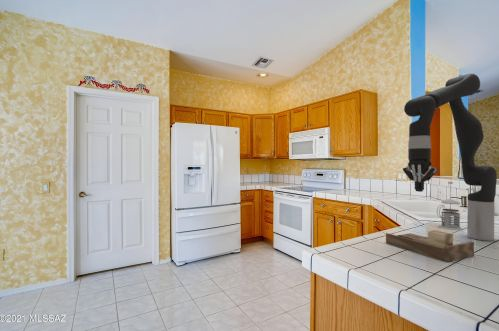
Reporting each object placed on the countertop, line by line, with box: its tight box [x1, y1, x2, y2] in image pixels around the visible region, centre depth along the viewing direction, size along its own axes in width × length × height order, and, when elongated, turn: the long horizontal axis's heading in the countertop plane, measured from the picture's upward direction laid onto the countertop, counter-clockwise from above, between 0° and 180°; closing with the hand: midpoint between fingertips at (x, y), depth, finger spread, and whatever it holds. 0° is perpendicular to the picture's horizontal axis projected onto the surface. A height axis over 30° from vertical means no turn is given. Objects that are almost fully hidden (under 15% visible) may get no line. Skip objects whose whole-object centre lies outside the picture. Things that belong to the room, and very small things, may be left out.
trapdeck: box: [385, 232, 475, 263], centre depth 103 cm, size 16×24×5 cm, turn 24°
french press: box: [436, 181, 463, 231], centre depth 138 cm, size 10×12×25 cm
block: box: [427, 229, 454, 249], centre depth 96 cm, size 6×6×6 cm
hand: (419, 191), depth 102 cm, fingers closed
